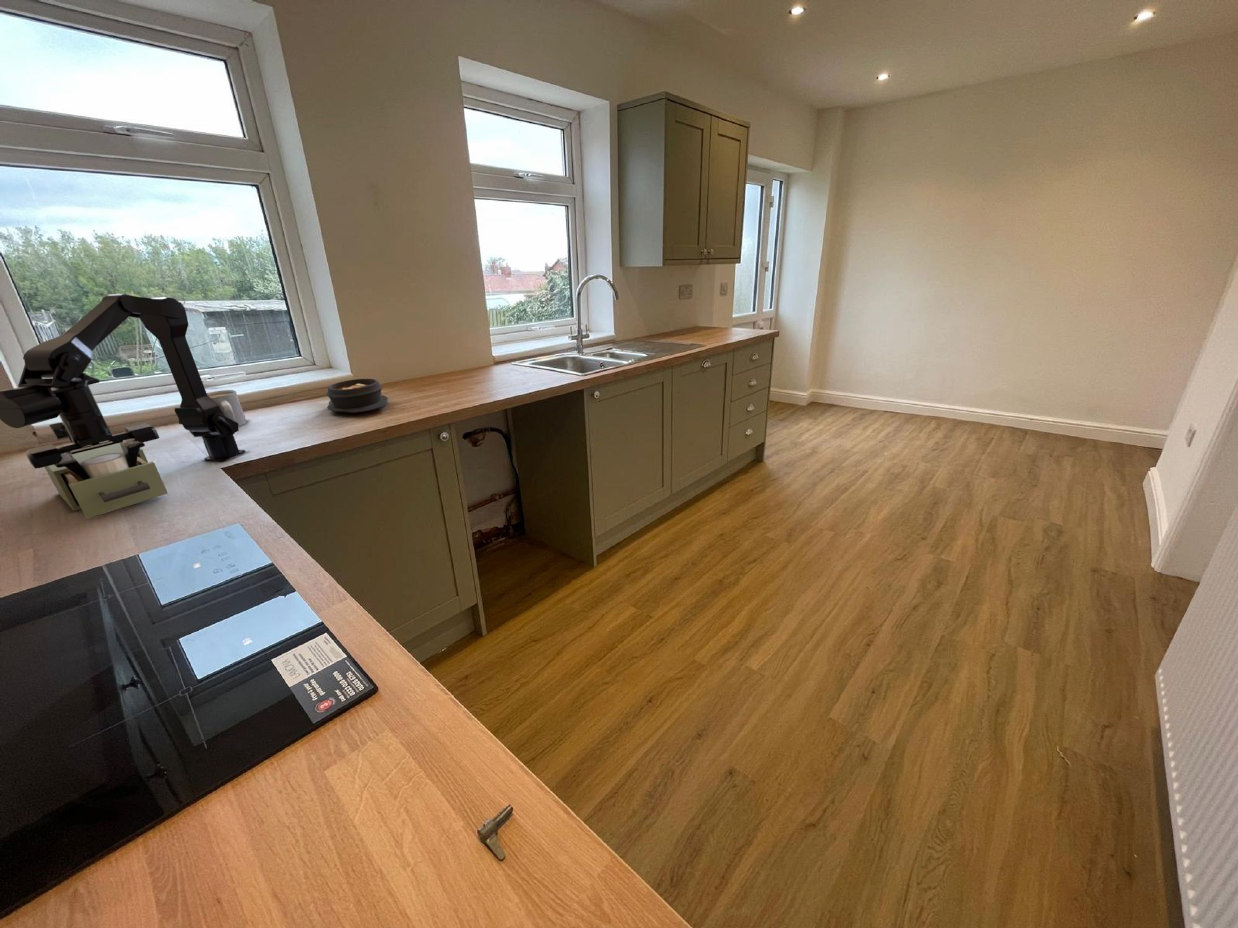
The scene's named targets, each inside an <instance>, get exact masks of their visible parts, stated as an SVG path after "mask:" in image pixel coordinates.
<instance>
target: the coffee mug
mask: <svg viewBox="0 0 1238 928" xmlns="http://www.w3.org/2000/svg"><path fill="white" fill-rule="evenodd" d="M206 393H207V395H208V396H209V397H210V398H211V399H212V400H213V401H215V402H216V403H217V404H218V405H219V407H220V408H221V410H222V412H223V414H224V416H225V417H227V418H229V419H231V420H233V421H235V422H237V423H238V427H240V426H243V425H245V424H246V423H247V419H246V415H245V413H244V410H243V407H242V405H241V402H240V398H239V396H238V394H237V391H236V390H234V389H223V390H221V389H220V390H214V391H209V392H206Z"/></svg>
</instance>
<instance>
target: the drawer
mask: <svg viewBox="0 0 1238 928" xmlns="http://www.w3.org/2000/svg"><path fill="white" fill-rule="evenodd" d="M62 474H63V476H64V478H65V480H66V482H67V484H68V486H69V488H70V489H71V491H72V493H73V495H74V497H75V499H76V500H77V501H78V503H79V505H80V507H81V509H80V510H81V511H82V513H83V515H84V516H85V518H86V519H91V518H94V517H97V516H100V515H103V514H107V513H110V512H113V511H117V510H119V509H123V508H126V507H129V506H133V505H135V504H139V503H142V502H144V501H148V500H151V499H155V498H158V497H161V496H165V495H168V494H169V492H168V490H167V488H166V486H165V484H164V481H163V479H162V477H161V475H160V472H159V470H158V467H157V466H156V464H155V462H154V461H148V463H147V462H145V461H144V460H142V459H141V458H139V457H137V466H135V467H131V468H127V469H123V470H120V471H116V472H112V473H109V474H105V475H101V476H98V477H94V478H90V479H87V480H83V479H82V478H80V477H79V476H78V475H77V474H75V473H74V472H72V471H70V472H66V473H62Z"/></svg>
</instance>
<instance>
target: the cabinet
mask: <svg viewBox="0 0 1238 928" xmlns="http://www.w3.org/2000/svg"><path fill="white" fill-rule="evenodd" d="M105 442H108V441H105ZM101 443H103V442H101ZM89 446H90V445H89ZM85 447H86V446H85ZM110 453H124V452H123V450H122V447H121V445H120V443H117V444H113V445H109V446H105V447H101V448H97V449H93V450H89V451H84V452H80V453H76V454H72V456H73V458H75V459H76V460H77V461H78V463H79V464H80V463H81V462H82V461H84V460H87V459H89V458H92V457H96V456H100V455H104V454H110ZM138 457H139V458H141V459H142V460H144V461H145V462H147V463H149V461H148V459H147V457H146V455H145V452H144V450H143V448H142V447H140V449H139V453H138ZM44 469H45V470H46V472H47V475H48V476H49V478H50V480H51V482H52V484H53V485H54V487H55V489H56V491H57V493H58V494H59V496H60V497H61V498H62V499H63V500H64V502H65V503H66V504H67V505H68V506H69V507H70V509H72V511H73V512H76V511H81V510H82V509H81V507H80V505H79V503H78V501H77V500H76V499H75V497H74V495H73V493H72V491H71V489H70V488H69V486H68V484H67V482H66V480H65V478H64V476H63V474H62V473H66V472H70V471H71V470H69V469H68V468H66V467H60V468H57V467H56V466H55V465H50V466H46V467H44Z"/></svg>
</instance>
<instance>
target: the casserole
mask: <svg viewBox="0 0 1238 928" xmlns="http://www.w3.org/2000/svg"><path fill="white" fill-rule="evenodd" d="M382 389H383V385H382V384H381V383H380V382H379V381H378V380H377V379H375V378H357V379H348V380H343V381H340V382H336V383H334V384H331V385H329V386H328V387H327V392H326V394H325V395H326V396H327V397H328V398H329V399H330V400H329V401H328V404H327V407H326V409H327V410H328V411H331V412H336V413H339V412H340V413H343V414H344V413H345V414H358V413H364V412H368V411H369V412H371V411H374V410H378V409H382V408H384V407H387V406H388V405H389V402H388V401H389V398H388V396H386V395H383V394H382Z"/></svg>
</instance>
